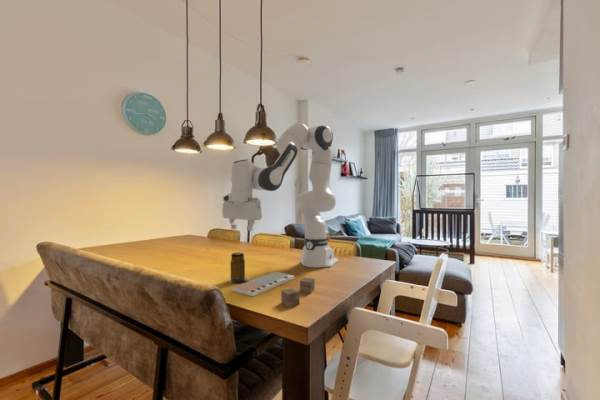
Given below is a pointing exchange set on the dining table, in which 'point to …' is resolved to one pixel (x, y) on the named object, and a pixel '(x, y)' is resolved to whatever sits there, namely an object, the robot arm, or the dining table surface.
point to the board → (262, 283)
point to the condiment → (238, 269)
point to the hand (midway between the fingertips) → (241, 229)
